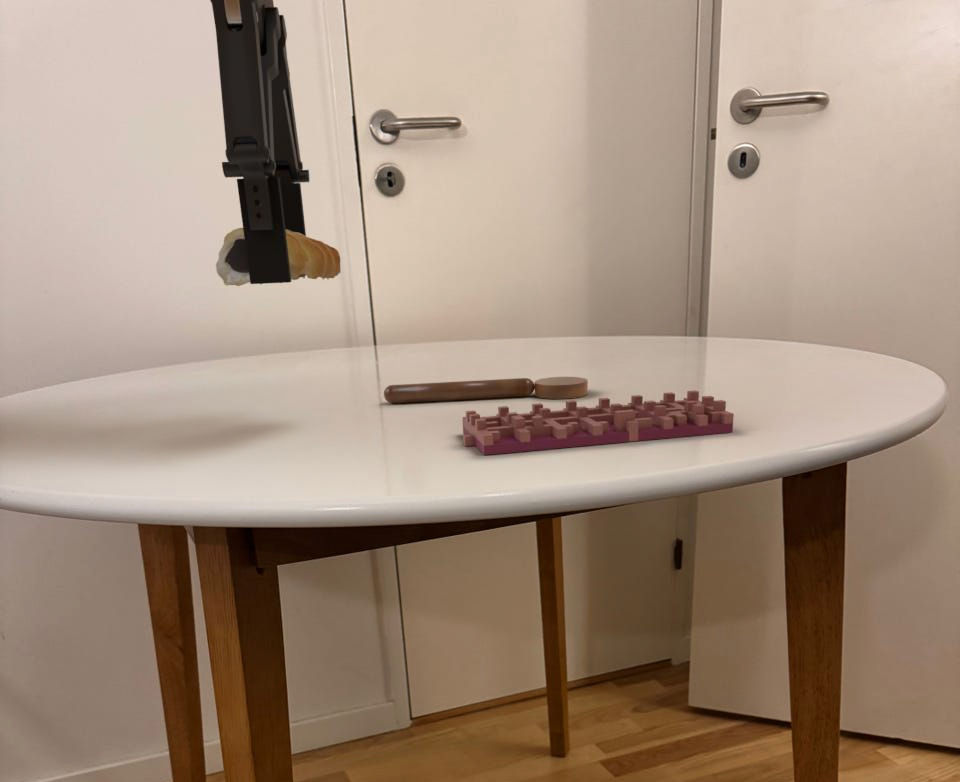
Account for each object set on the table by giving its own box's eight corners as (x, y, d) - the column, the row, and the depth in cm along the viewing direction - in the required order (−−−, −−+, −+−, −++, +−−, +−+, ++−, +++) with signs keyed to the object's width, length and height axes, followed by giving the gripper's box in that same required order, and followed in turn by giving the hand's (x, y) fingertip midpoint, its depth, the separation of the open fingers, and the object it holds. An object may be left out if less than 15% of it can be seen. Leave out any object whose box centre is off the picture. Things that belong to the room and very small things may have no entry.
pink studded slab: (454, 435, 70) (453, 408, 69) (690, 414, 74) (691, 389, 73) (475, 455, 64) (473, 427, 63) (732, 432, 67) (734, 404, 66)
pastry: (301, 277, 75) (296, 225, 73) (365, 278, 71) (361, 223, 70) (210, 286, 68) (202, 228, 66) (276, 287, 64) (269, 226, 63)
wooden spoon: (383, 408, 82) (381, 389, 81) (385, 399, 86) (384, 381, 86) (591, 397, 82) (591, 378, 82) (583, 388, 87) (583, 371, 86)
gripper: (267, -162, 50) (314, 285, 59) (317, -52, 70) (347, 269, 79) (126, -157, 50) (195, 291, 59) (217, -48, 70) (258, 273, 79)
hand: (282, 278), depth 69 cm, fingers closed on pastry, 9 cm apart
